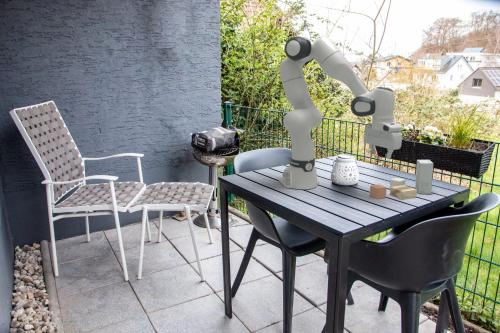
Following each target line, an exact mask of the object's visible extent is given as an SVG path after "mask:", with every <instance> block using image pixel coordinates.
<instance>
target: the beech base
mask: <svg viewBox="0 0 500 333" xmlns="http://www.w3.org/2000/svg"><path fill="white" fill-rule="evenodd" d="M417 193H418V192H417V189H415V188H413V187H411V186H409V185H406V184H405V185H400V186H394V187H390V186H389V195H390V196H392V197H395V198H397V199H399V200H402V201H403V200H410V199H416V198H417V195H418V194H417Z"/></svg>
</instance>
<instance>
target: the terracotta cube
mask: <svg viewBox="0 0 500 333" xmlns="http://www.w3.org/2000/svg"><path fill="white" fill-rule="evenodd" d="M369 197H371V198H373V199H376V200H380V199H381V200H382V199H385V198H386V199H387V186H384V185H381V184H373V185H370V187H369Z"/></svg>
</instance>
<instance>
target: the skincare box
mask: <svg viewBox="0 0 500 333" xmlns="http://www.w3.org/2000/svg"><path fill="white" fill-rule="evenodd" d="M415 170H416V171H415V173H416V174H415V188H414V189H417V193H418V194H420V195H421V194H422V195H423V194H424V195H432V188H433V186H432V185H433V171H434V162H432V161H431V159H417V160H416V169H415Z"/></svg>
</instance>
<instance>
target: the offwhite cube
mask: <svg viewBox="0 0 500 333" xmlns="http://www.w3.org/2000/svg"><path fill="white" fill-rule="evenodd" d="M400 185H406V178H405V179H404V178H399V177H393V178H391V179H390V180H389V188H390V187H394V186H400Z"/></svg>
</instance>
